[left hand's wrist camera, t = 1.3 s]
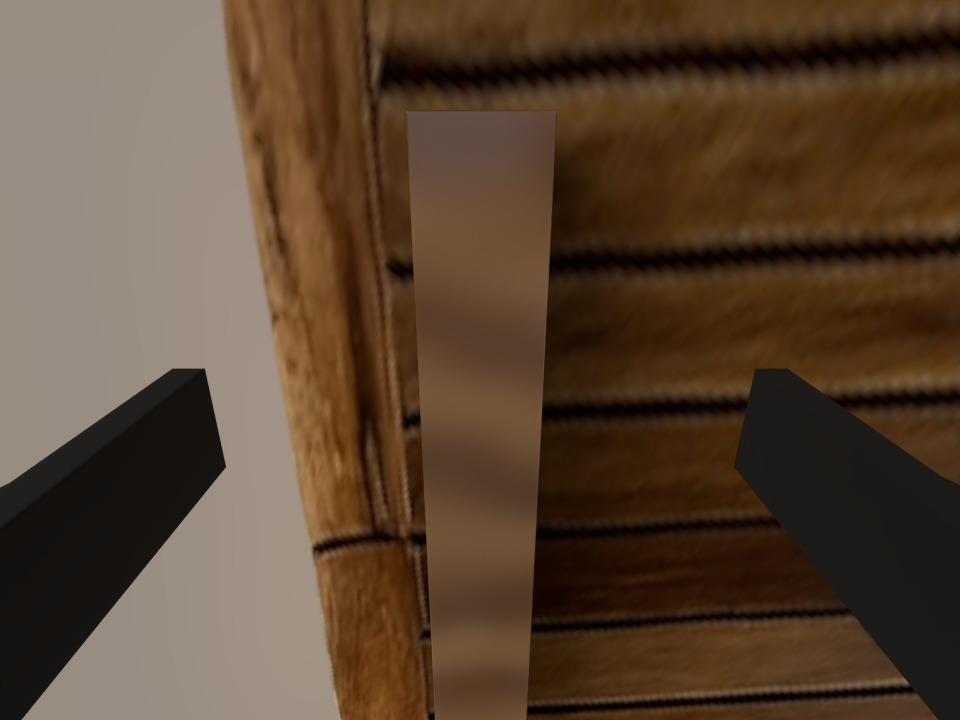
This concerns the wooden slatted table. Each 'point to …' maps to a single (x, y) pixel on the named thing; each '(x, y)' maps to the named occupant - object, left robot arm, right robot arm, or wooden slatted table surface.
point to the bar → (481, 389)
